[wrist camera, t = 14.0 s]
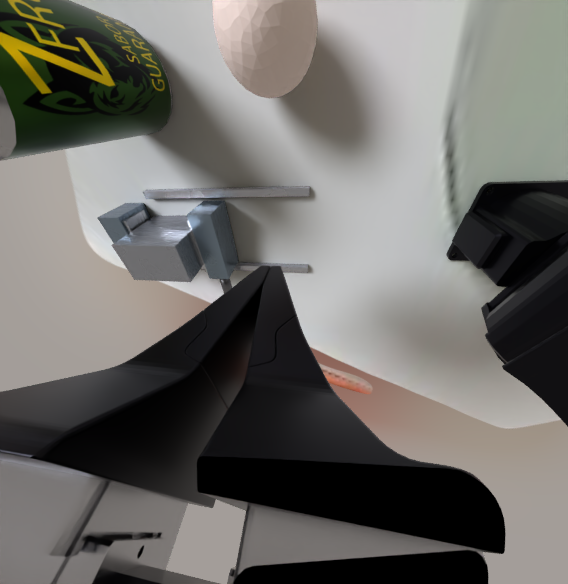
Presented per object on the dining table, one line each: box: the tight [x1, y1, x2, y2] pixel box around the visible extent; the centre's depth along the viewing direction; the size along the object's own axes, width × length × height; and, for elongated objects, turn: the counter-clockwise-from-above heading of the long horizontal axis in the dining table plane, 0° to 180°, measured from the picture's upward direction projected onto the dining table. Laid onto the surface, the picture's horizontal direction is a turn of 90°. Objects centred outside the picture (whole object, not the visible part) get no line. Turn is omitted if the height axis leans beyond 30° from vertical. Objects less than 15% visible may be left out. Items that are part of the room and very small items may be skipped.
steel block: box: [112, 216, 203, 282], centre depth 20 cm, size 4×6×6 cm, turn 92°
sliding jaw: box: [187, 201, 239, 294], centre depth 21 cm, size 2×10×3 cm, turn 2°
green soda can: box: [0, 0, 172, 161], centre depth 10 cm, size 5×5×12 cm
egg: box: [213, 0, 318, 98], centre depth 10 cm, size 5×5×7 cm
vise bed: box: [98, 186, 310, 273], centre depth 20 cm, size 18×8×4 cm, turn 92°
